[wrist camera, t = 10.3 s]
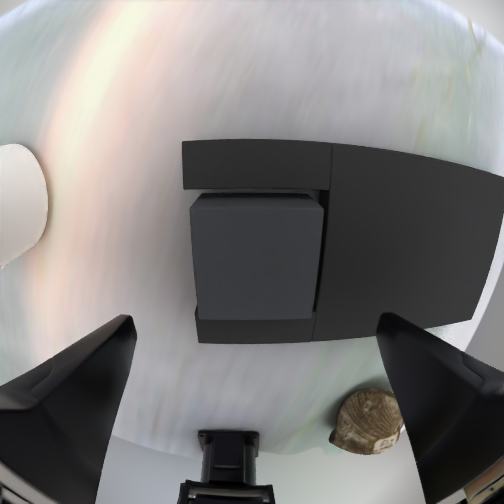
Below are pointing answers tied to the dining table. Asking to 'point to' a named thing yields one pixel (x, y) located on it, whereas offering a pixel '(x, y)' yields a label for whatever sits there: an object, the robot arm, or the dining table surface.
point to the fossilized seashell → (368, 422)
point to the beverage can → (20, 202)
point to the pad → (255, 255)
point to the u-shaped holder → (365, 233)
